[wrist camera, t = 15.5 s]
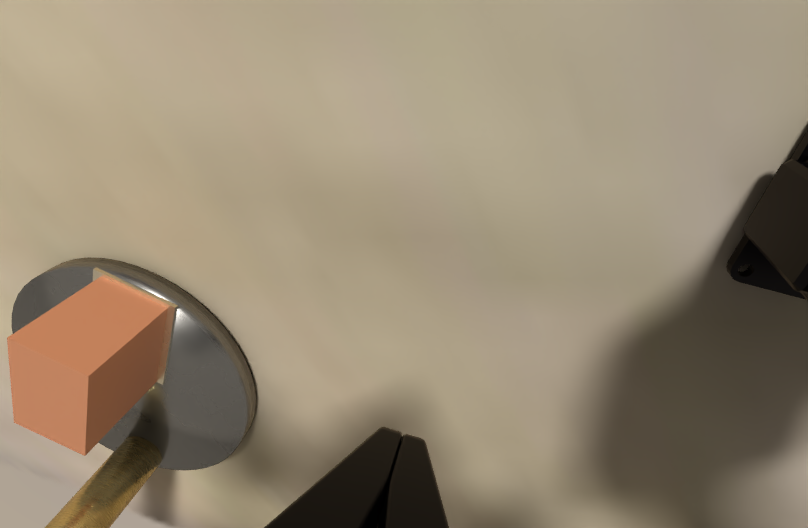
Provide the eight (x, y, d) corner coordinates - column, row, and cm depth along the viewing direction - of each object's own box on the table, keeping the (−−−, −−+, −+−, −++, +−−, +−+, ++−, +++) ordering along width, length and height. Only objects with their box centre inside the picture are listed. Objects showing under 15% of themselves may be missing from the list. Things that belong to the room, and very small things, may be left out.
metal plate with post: (306, 410, 27) (184, 635, 18) (164, 478, 34) (19, 669, 24) (109, 207, 24) (-180, 352, 14) (-7, 327, 30) (-259, 483, 21)
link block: (167, 307, 24) (88, 376, 20) (156, 382, 27) (85, 455, 23) (101, 276, 24) (7, 337, 20) (96, 354, 27) (14, 422, 23)
